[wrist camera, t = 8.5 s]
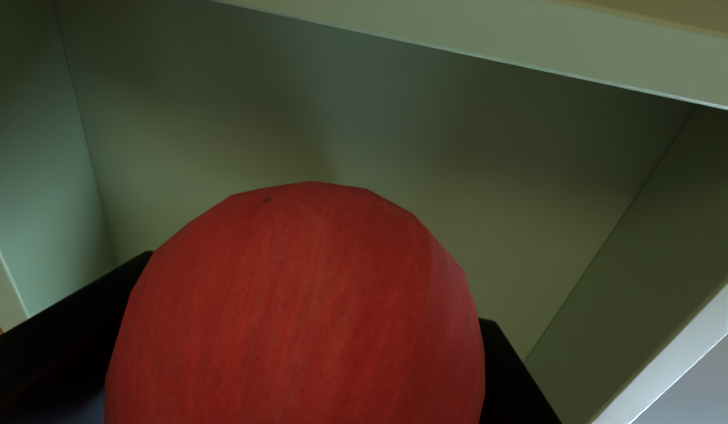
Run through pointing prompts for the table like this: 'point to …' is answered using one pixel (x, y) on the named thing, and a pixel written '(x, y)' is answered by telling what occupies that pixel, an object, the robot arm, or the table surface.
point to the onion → (299, 318)
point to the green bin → (397, 155)
